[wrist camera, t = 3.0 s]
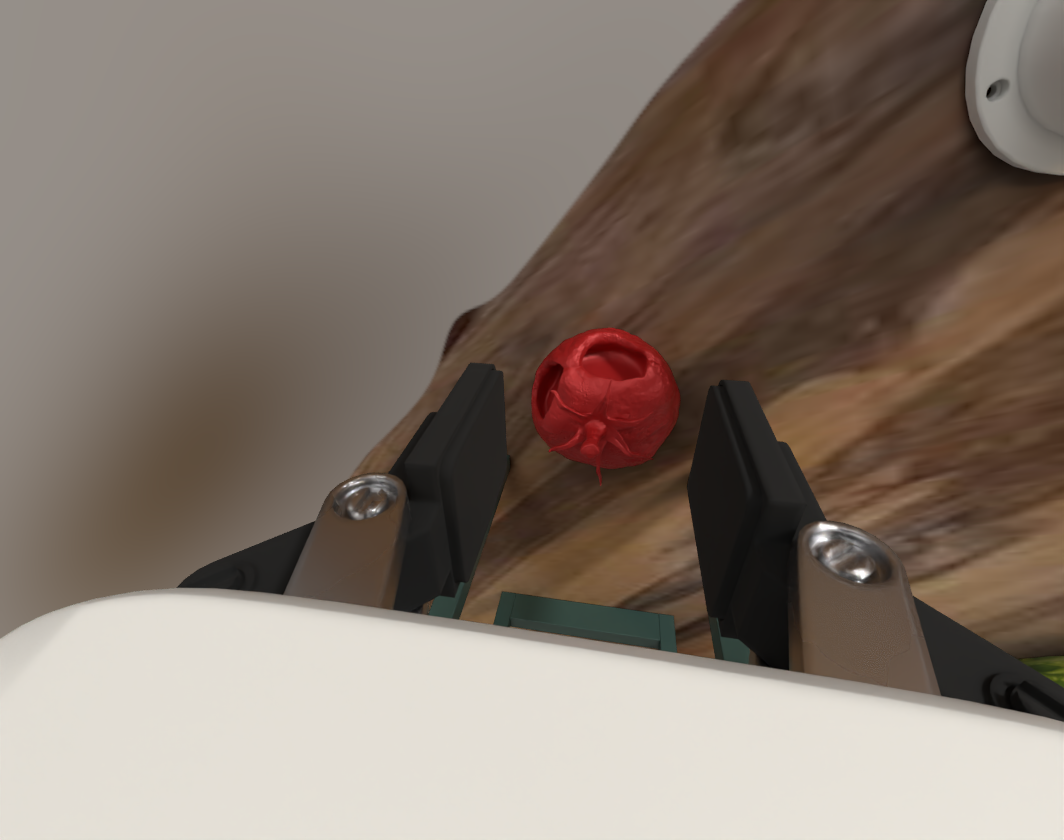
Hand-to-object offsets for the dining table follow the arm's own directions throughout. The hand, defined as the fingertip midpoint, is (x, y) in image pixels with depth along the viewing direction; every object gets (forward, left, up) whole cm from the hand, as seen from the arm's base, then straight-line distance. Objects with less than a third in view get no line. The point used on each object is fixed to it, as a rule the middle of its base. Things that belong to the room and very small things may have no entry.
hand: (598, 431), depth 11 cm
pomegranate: (+10, 0, -23) cm, 25 cm away
